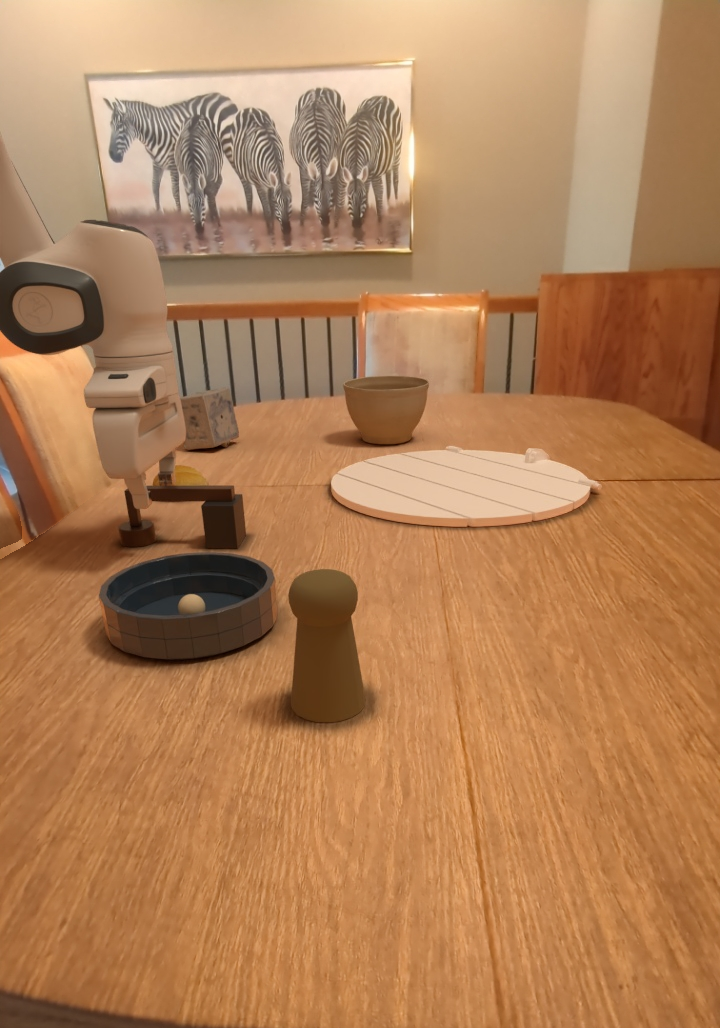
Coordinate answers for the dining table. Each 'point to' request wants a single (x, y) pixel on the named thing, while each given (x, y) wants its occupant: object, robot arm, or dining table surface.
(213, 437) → the incense holder
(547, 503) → the lazy susan
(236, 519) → the dark brown upright block
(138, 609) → the bowl
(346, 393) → the planter bowl
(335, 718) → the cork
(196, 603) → the dough ball
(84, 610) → the dining table surface
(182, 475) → the bread roll
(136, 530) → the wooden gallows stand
